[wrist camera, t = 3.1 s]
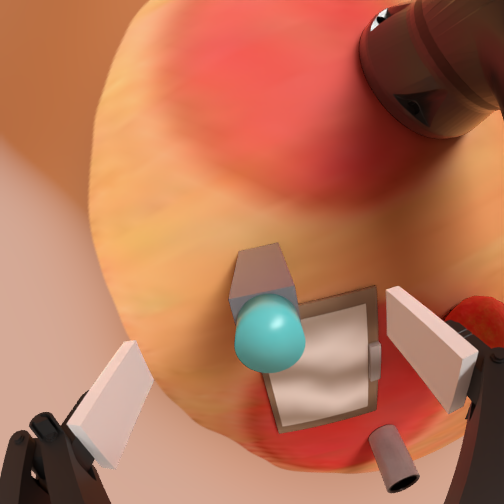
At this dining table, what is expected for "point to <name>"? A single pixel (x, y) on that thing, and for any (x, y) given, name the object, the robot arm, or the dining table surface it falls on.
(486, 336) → the apple
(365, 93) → the dining table surface
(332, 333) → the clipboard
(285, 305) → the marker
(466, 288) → the dining table surface
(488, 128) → the dining table surface
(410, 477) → the grey hollow cylinder
